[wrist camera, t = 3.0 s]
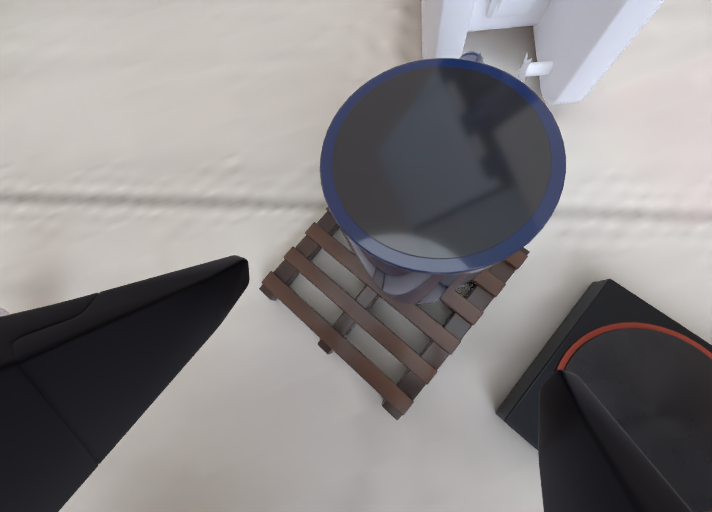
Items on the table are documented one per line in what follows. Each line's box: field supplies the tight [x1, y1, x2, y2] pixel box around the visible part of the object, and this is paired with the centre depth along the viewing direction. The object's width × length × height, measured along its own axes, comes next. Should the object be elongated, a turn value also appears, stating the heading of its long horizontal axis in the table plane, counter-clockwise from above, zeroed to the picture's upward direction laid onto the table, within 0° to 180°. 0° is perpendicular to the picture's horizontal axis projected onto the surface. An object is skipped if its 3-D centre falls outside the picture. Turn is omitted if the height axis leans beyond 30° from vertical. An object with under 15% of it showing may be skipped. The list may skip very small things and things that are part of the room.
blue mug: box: [320, 51, 566, 305], centre depth 14 cm, size 10×7×11 cm
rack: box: [259, 207, 529, 420], centre depth 20 cm, size 13×12×1 cm
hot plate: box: [496, 279, 712, 512], centre depth 16 cm, size 10×10×2 cm
